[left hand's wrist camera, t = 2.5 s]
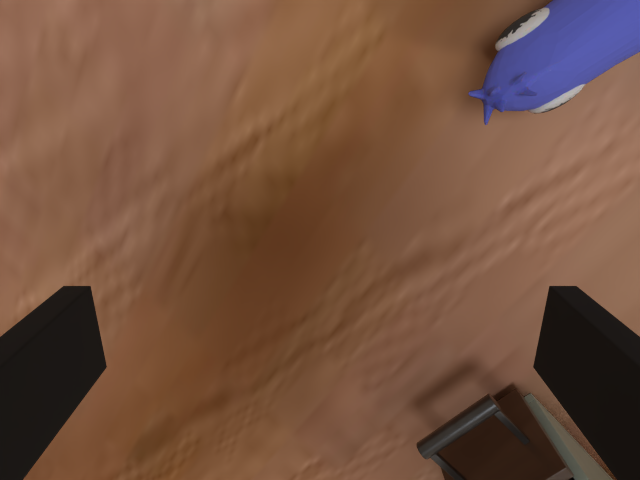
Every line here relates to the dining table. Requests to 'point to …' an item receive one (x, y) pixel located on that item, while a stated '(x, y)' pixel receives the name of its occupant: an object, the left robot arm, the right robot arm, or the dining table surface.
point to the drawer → (495, 444)
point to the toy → (558, 53)
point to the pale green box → (567, 445)
